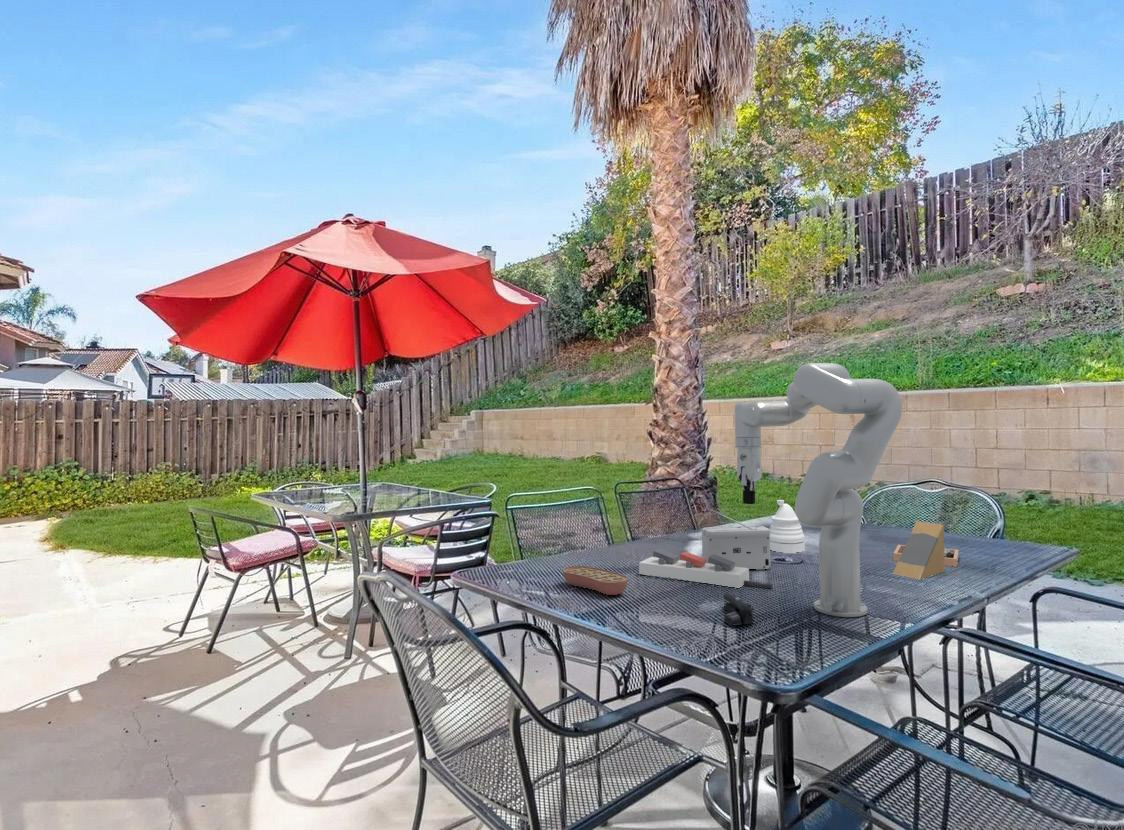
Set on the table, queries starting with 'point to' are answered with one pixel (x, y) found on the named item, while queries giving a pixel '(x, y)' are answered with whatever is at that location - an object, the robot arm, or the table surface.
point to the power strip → (698, 573)
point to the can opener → (738, 611)
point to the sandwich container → (923, 552)
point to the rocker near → (721, 562)
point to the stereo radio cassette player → (738, 545)
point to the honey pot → (786, 531)
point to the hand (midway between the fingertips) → (749, 503)
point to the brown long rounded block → (596, 579)
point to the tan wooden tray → (947, 561)
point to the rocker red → (693, 559)
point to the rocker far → (665, 556)
